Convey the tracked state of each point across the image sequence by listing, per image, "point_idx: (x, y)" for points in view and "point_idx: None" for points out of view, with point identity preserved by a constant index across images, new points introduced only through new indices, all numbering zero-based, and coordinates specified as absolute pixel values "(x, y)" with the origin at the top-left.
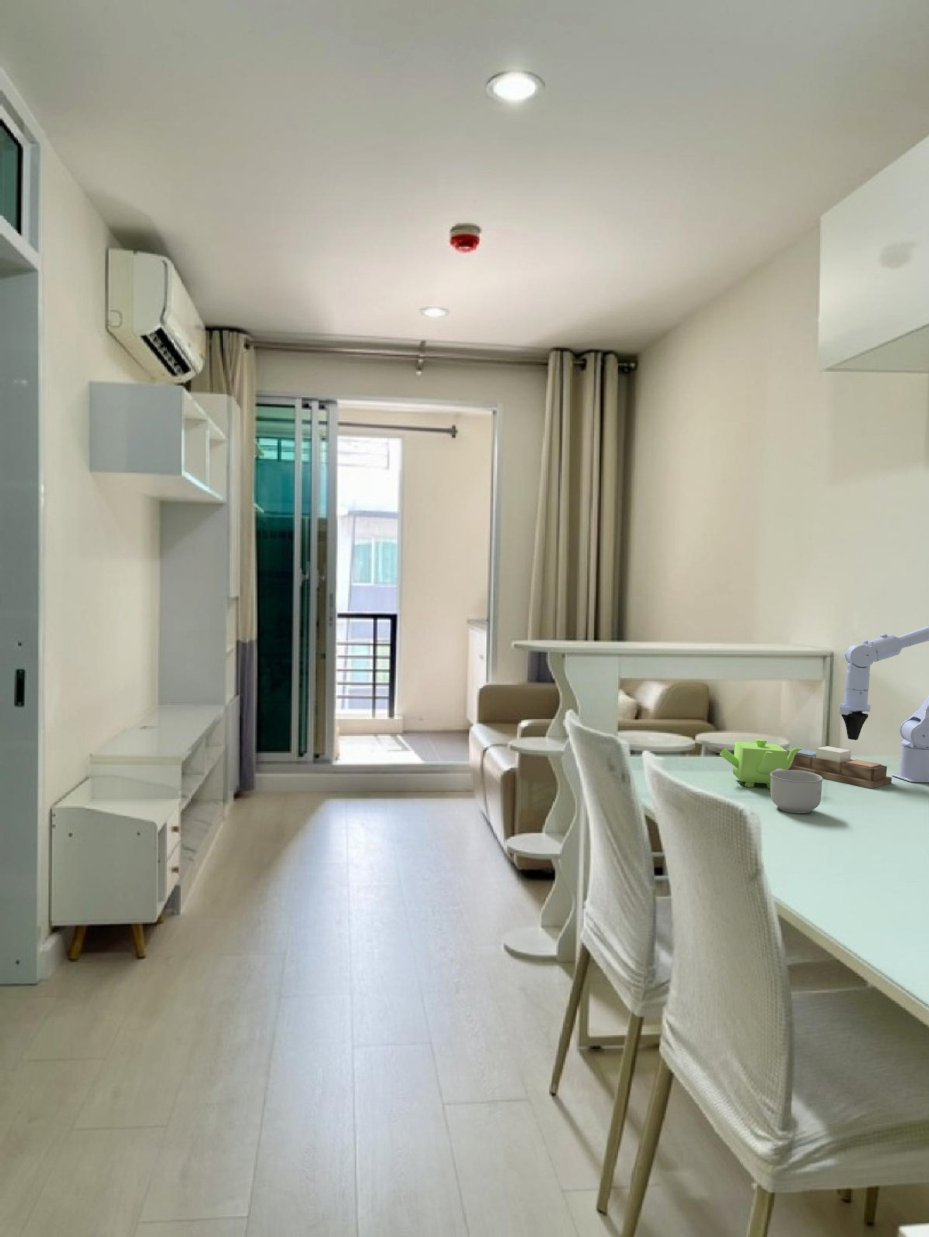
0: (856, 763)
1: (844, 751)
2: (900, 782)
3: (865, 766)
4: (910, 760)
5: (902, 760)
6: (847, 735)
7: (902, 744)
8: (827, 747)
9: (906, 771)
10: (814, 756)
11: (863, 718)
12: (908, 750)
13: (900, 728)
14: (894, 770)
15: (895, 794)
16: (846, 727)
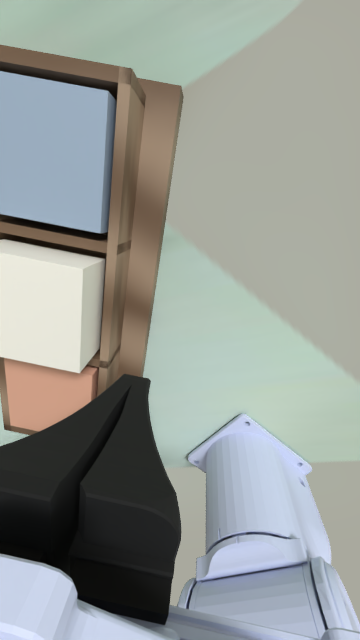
0: (14, 387)
1: (24, 358)
2: (169, 435)
3: (10, 410)
4: (206, 504)
5: (223, 481)
6: (117, 380)
7: (234, 538)
8: (43, 278)
9: (209, 464)
10: (13, 227)
11: (68, 574)
12: (209, 534)
13: (325, 616)
14: (353, 409)
15: (15, 438)
16: (82, 408)
